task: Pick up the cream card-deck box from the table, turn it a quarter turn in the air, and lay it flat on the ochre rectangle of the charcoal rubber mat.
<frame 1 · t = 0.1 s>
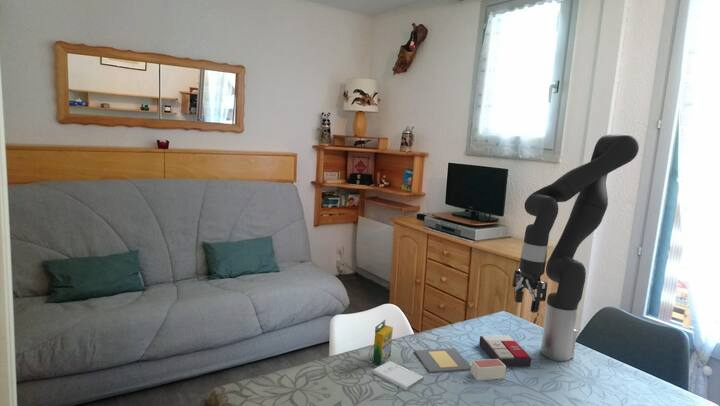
hand: (525, 306, 142), 17 cm above the table, tool pointing down, fingers open, 8 cm apart
external hard drive: (397, 378, 129), on the table
rubber mat: (442, 360, 140), on the table
calculator: (503, 356, 146), on the table
card deck: (487, 375, 133), on the table
crayon box: (381, 360, 138), on the table
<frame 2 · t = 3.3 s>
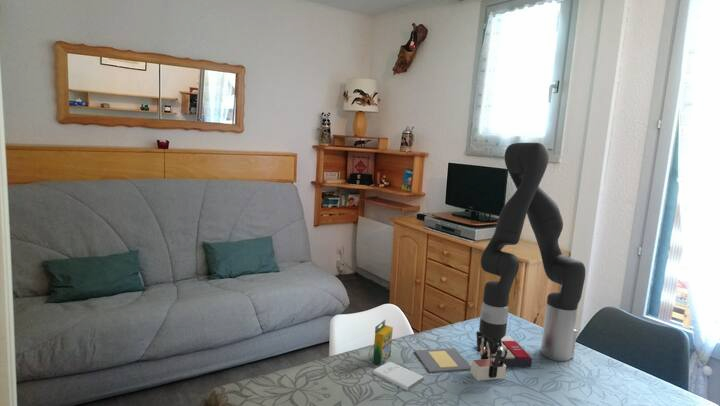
hand: (487, 372, 132), 1 cm above the table, tool pointing down, fingers closed on card deck, 4 cm apart
card deck: (487, 375, 133), on the table, touching gripper
everything else where it was.
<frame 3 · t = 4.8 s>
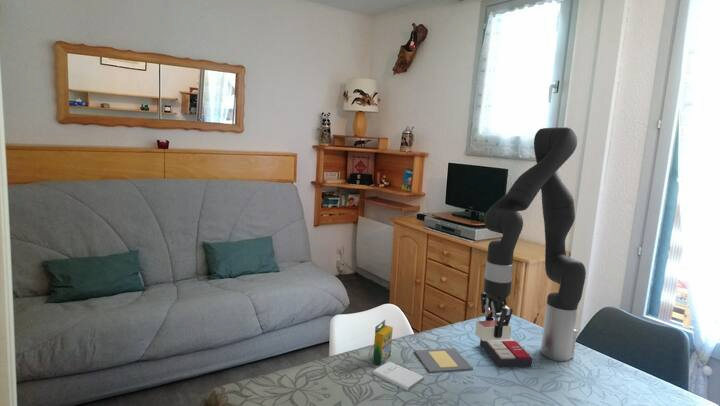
hand: (492, 333, 131), 13 cm above the table, tool pointing down, fingers closed on card deck, 4 cm apart
card deck: (492, 336, 131), point 12 cm above the table, touching gripper
everything else where it was.
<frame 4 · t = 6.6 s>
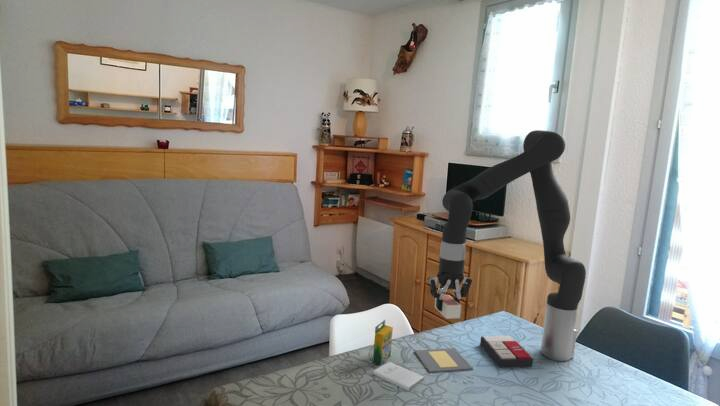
hand: (447, 309, 137), 17 cm above the table, tool pointing down, fingers closed on card deck, 4 cm apart
card deck: (446, 312, 138), point 16 cm above the table, touching gripper
everything else where it was.
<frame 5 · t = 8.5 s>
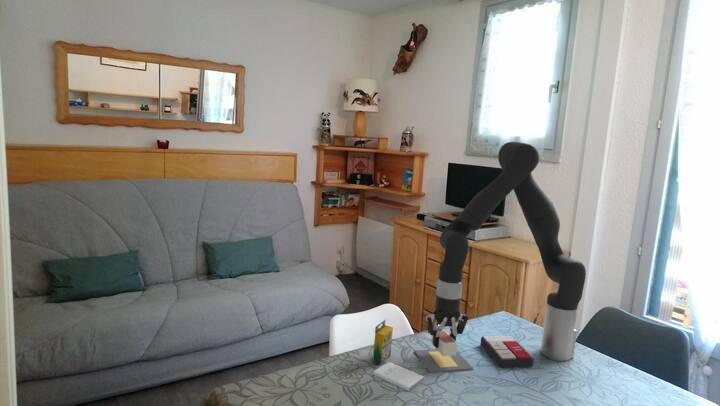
hand: (443, 346, 139), 5 cm above the table, tool pointing down, fingers closed on card deck, 4 cm apart
card deck: (443, 349, 139), point 4 cm above the table, touching gripper
everything else where it was.
when the fingers open (2 cm above the table, at t = 9.9 s): card deck stays where it is, resting on rubber mat.
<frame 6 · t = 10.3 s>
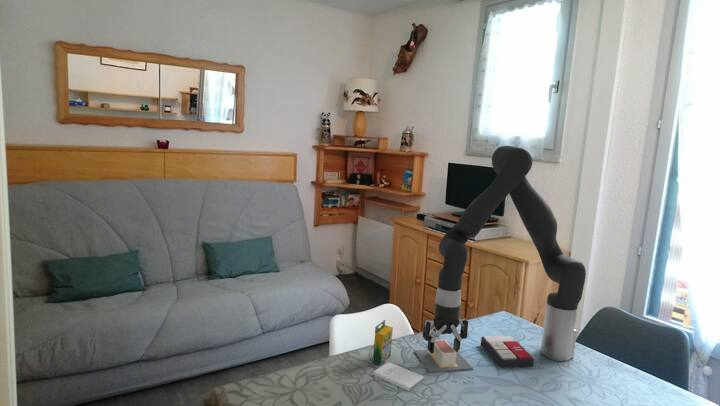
hand: (443, 351, 139), 3 cm above the table, tool pointing down, fingers open, 8 cm apart
card deck: (442, 358, 140), point 1 cm above the table, touching rubber mat
everything else where it was.
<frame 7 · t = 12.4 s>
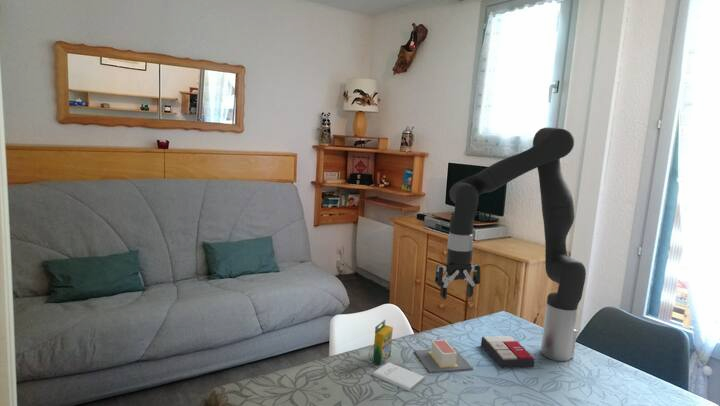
hand: (456, 297, 140), 20 cm above the table, tool pointing down, fingers open, 8 cm apart
nothing on the table moved.
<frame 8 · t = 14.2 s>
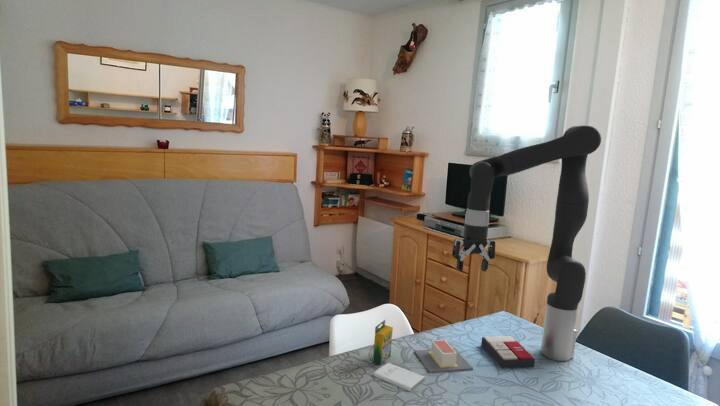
hand: (471, 271, 148), 26 cm above the table, tool pointing down, fingers open, 8 cm apart
nothing on the table moved.
at the end: card deck 0.1 cm off-centre on the rubber mat, point 0.6 cm above the rubber mat's base; card deck touching rubber mat; the gripper is holding nothing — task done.
